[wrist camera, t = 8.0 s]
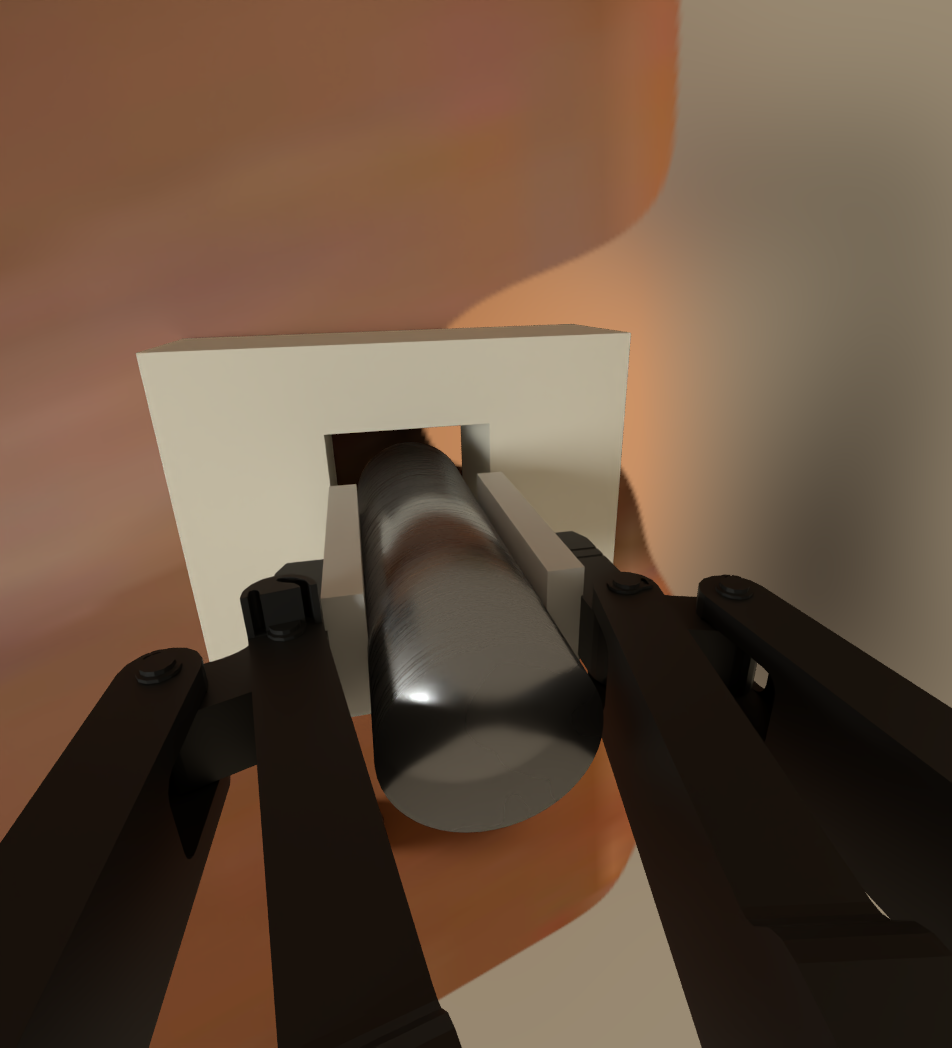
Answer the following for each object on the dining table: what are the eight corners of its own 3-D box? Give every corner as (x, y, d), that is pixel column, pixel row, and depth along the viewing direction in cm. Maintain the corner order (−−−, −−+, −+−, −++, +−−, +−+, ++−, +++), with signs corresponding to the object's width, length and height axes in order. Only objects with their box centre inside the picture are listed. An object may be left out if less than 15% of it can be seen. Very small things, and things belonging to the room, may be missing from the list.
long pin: (351, 446, 19) (362, 663, 8) (460, 438, 19) (610, 628, 8) (362, 547, 20) (385, 851, 9) (463, 536, 21) (596, 809, 10)
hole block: (183, 338, 20) (135, 353, 15) (572, 324, 22) (631, 332, 18) (236, 595, 23) (211, 668, 19) (562, 557, 26) (609, 613, 21)
